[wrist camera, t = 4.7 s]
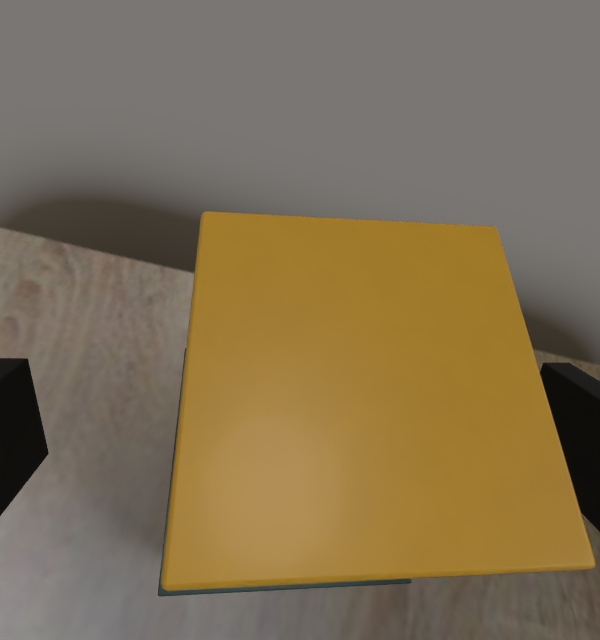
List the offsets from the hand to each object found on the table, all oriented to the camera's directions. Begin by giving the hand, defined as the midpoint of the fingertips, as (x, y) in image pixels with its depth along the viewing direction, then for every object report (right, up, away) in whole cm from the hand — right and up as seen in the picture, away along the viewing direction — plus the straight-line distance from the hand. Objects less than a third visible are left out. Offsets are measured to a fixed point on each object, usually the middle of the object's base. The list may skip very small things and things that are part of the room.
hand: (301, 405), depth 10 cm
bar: (0, -3, +5) cm, 6 cm away
